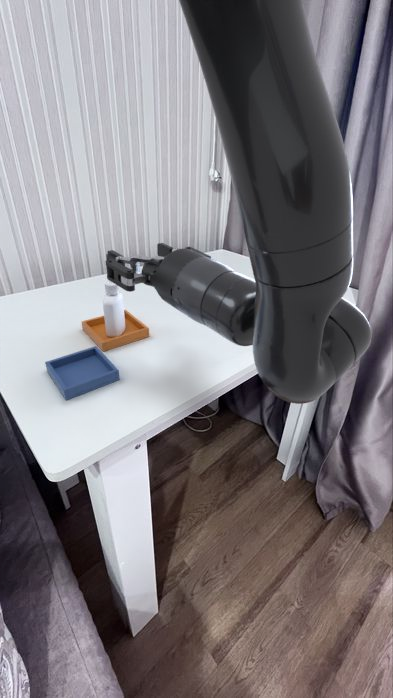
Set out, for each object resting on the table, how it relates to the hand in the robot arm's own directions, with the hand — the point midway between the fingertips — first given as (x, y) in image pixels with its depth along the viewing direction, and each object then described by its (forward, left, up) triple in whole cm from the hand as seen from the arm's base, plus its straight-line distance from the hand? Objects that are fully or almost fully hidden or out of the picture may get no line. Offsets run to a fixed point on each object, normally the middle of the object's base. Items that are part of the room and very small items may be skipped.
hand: (135, 253), depth 51 cm
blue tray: (-11, +1, -20) cm, 23 cm away
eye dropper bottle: (0, +11, -19) cm, 22 cm away
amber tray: (0, +11, -20) cm, 23 cm away
